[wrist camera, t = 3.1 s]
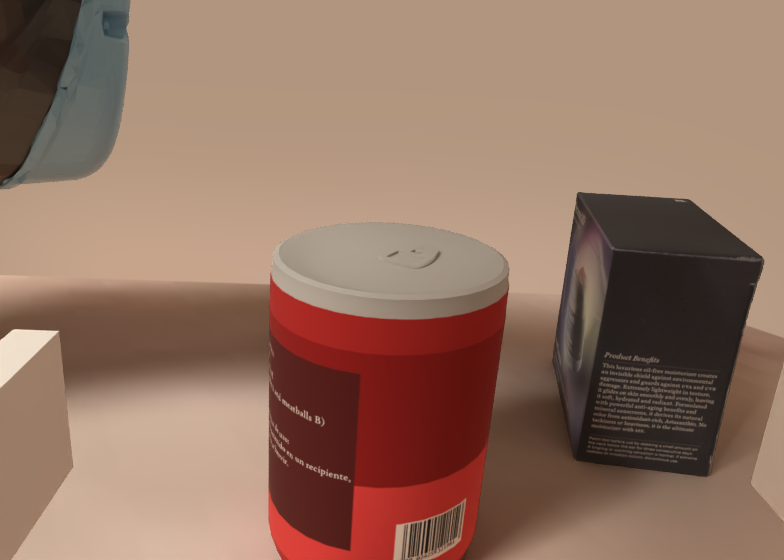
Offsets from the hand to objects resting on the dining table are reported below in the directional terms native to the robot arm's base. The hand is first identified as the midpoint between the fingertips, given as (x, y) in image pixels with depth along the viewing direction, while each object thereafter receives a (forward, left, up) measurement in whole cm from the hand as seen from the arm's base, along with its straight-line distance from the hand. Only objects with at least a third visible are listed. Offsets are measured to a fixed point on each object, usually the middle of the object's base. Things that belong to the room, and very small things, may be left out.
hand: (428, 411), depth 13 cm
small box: (+19, +14, -12) cm, 26 cm away
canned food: (+3, +10, -11) cm, 15 cm away
